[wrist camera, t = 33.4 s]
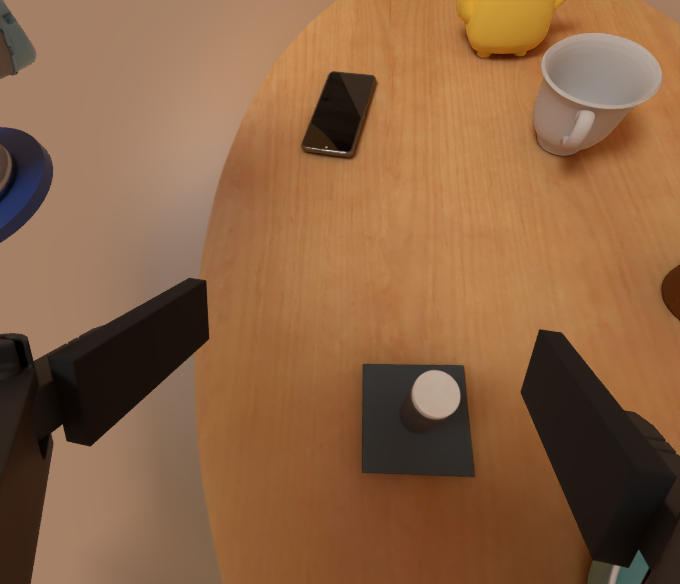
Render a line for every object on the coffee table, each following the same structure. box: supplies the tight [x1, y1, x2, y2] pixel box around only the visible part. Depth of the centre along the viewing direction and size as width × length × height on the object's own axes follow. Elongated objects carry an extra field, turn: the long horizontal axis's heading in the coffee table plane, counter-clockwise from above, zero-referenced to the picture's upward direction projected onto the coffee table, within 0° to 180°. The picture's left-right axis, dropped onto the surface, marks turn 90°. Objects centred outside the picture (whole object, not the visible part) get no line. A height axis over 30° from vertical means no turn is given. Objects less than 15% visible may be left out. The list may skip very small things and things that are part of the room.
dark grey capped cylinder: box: [400, 370, 460, 434], centre depth 30 cm, size 3×3×13 cm
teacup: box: [533, 33, 662, 156], centre depth 45 cm, size 12×15×10 cm
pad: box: [362, 364, 475, 477], centre depth 37 cm, size 10×10×1 cm
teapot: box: [456, 0, 566, 58], centre depth 54 cm, size 18×11×11 cm, turn 87°
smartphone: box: [301, 71, 376, 157], centre depth 54 cm, size 7×1×16 cm
